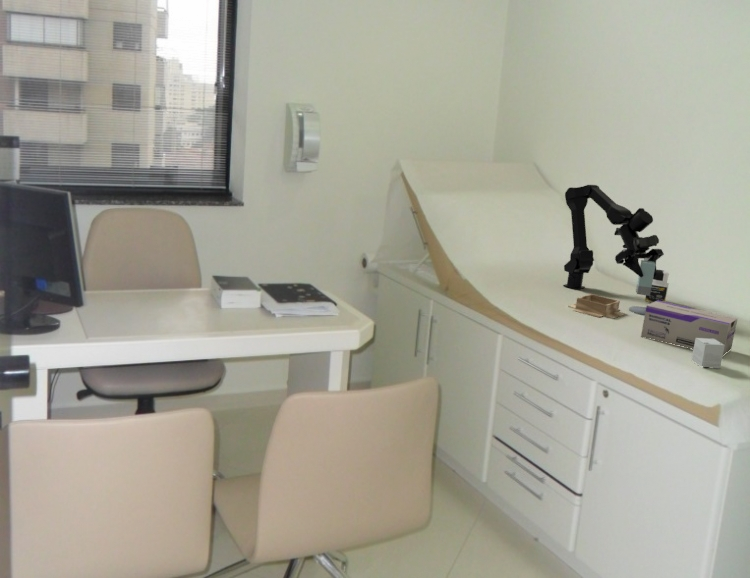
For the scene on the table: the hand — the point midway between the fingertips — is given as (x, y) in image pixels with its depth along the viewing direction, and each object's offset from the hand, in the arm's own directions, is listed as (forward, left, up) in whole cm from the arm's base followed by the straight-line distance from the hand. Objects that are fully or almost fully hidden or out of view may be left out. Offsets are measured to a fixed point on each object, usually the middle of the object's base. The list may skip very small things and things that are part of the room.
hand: (648, 276), depth 291 cm
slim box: (-1, -1, -7) cm, 7 cm away
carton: (+13, -12, -13) cm, 22 cm away
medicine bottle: (-23, -5, -14) cm, 27 cm away
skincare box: (+42, +36, -14) cm, 57 cm away
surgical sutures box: (+25, +24, -14) cm, 37 cm away
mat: (-2, -1, -13) cm, 14 cm away
